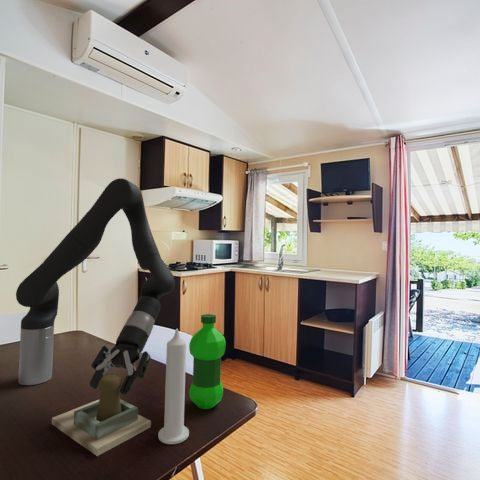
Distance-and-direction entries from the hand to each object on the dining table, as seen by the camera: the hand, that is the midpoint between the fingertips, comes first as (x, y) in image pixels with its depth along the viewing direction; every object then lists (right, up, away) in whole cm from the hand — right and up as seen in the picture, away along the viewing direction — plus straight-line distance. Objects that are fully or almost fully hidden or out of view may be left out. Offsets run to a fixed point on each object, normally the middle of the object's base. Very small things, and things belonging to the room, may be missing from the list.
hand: (107, 390), depth 78 cm
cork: (+1, -8, 0) cm, 8 cm away
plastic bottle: (+23, -10, +13) cm, 28 cm away
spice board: (-2, -9, +1) cm, 9 cm away
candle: (+17, -10, -3) cm, 19 cm away
